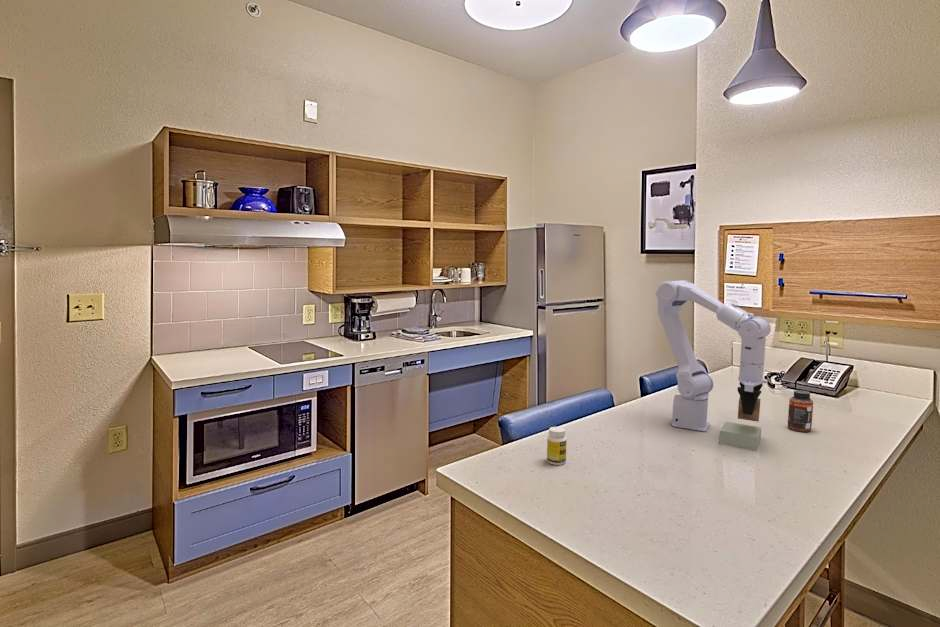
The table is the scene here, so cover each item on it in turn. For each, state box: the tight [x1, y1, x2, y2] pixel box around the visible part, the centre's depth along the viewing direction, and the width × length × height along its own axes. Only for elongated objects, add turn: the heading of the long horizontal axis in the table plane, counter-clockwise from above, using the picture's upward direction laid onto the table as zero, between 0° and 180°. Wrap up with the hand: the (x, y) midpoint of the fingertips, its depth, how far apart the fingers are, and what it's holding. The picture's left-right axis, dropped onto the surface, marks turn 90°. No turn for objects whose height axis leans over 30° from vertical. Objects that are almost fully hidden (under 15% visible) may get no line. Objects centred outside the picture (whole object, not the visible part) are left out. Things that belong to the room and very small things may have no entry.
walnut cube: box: [737, 396, 761, 423], centre depth 144 cm, size 5×5×5 cm
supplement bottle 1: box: [546, 426, 567, 466], centre depth 132 cm, size 5×5×8 cm
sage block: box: [718, 421, 762, 451], centre depth 145 cm, size 9×9×4 cm
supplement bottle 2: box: [787, 389, 814, 433], centre depth 154 cm, size 6×6×11 cm
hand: (748, 411), depth 144 cm, fingers closed on walnut cube, 5 cm apart
